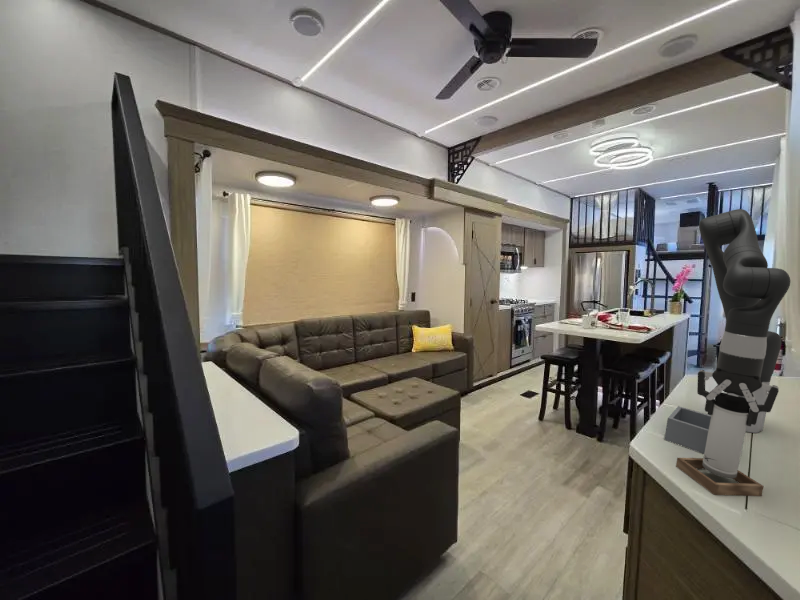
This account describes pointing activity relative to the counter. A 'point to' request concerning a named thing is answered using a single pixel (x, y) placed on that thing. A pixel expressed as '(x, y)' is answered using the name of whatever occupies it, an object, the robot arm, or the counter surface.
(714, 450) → the travel mug
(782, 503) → the counter surface
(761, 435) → the counter surface
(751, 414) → the robot arm
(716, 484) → the walnut holder
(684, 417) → the gray bin
